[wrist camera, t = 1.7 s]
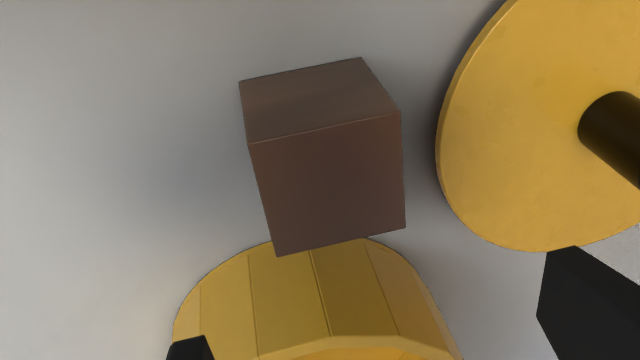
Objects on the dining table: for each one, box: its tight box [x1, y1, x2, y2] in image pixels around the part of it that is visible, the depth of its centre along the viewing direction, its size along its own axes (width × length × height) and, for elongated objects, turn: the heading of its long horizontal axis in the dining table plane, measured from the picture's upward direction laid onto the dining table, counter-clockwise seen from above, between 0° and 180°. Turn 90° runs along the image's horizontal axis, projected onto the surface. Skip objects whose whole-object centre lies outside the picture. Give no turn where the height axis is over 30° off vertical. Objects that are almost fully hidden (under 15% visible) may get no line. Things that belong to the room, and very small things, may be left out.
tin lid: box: [435, 0, 640, 252], centre depth 18 cm, size 13×13×4 cm
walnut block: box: [239, 57, 406, 257], centre depth 16 cm, size 4×4×4 cm
